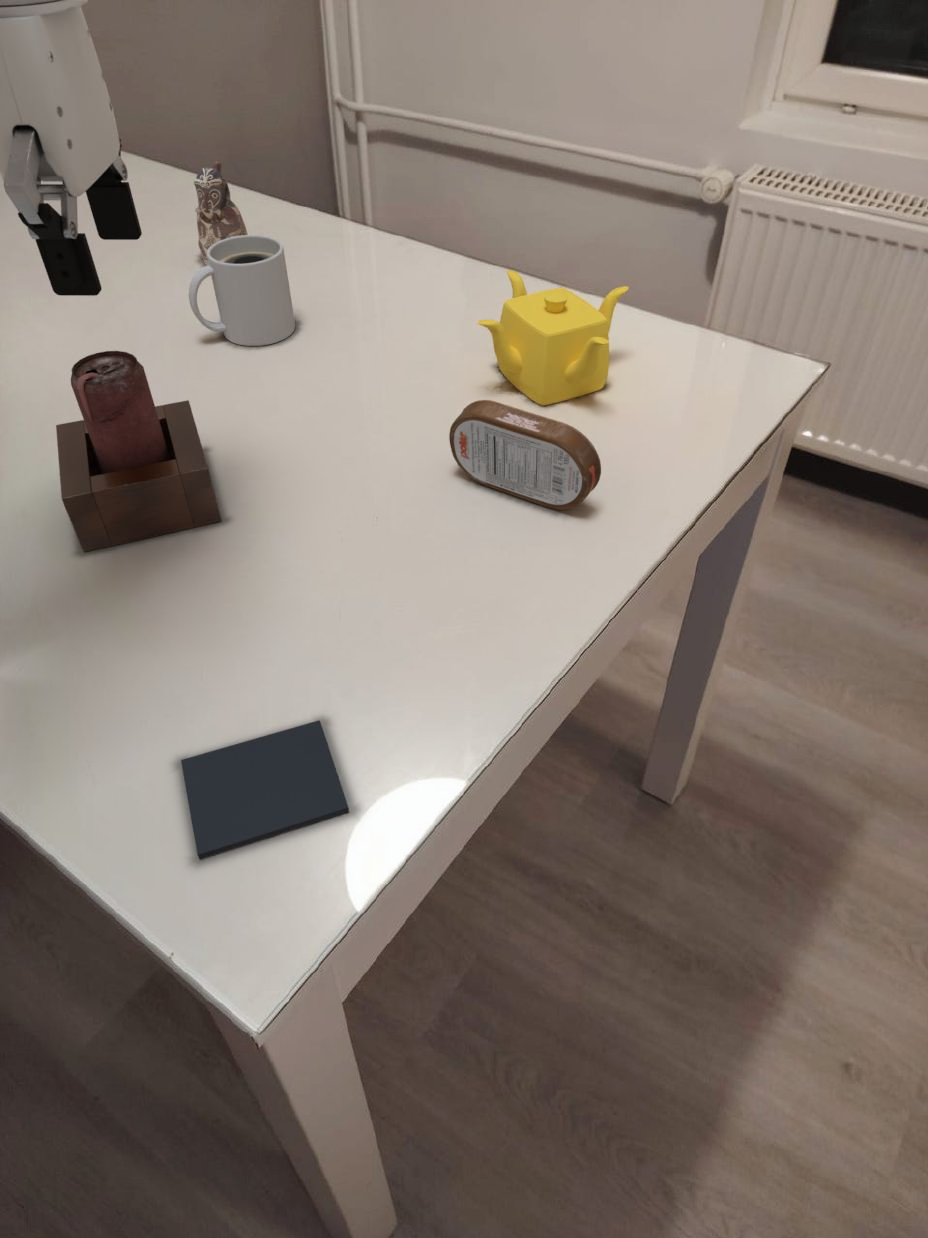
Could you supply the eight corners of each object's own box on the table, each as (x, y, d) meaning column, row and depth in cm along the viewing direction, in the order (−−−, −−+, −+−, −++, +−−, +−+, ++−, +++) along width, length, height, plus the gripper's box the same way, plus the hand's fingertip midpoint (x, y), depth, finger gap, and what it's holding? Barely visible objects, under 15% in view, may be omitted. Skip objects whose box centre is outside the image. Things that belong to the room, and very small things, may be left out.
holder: (83, 552, 78) (61, 498, 74) (76, 477, 86) (55, 424, 82) (221, 521, 81) (208, 468, 77) (202, 451, 89) (188, 399, 85)
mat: (199, 859, 56) (197, 855, 56) (182, 764, 61) (180, 759, 61) (349, 812, 58) (348, 807, 58) (320, 724, 64) (319, 719, 63)
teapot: (506, 340, 106) (508, 260, 99) (621, 355, 103) (631, 275, 96) (472, 400, 96) (473, 317, 89) (598, 419, 93) (609, 335, 86)
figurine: (191, 262, 123) (170, 171, 115) (219, 243, 128) (202, 155, 119) (233, 270, 121) (216, 178, 113) (261, 251, 126) (246, 161, 117)
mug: (302, 314, 111) (291, 235, 104) (284, 350, 104) (270, 268, 97) (220, 311, 112) (203, 232, 105) (197, 347, 105) (177, 264, 98)
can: (100, 512, 82) (49, 378, 72) (137, 474, 86) (94, 343, 76) (156, 523, 81) (113, 388, 71) (191, 484, 85) (154, 352, 75)
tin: (597, 507, 82) (607, 430, 76) (583, 525, 80) (592, 448, 74) (461, 461, 88) (460, 386, 82) (445, 477, 86) (443, 401, 80)
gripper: (8, -47, 57) (89, 219, 70) (-122, 5, 45) (3, 318, 57) (121, -48, 57) (182, 219, 69) (21, 4, 45) (116, 318, 57)
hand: (101, 264), depth 63 cm, fingers open, 9 cm apart
